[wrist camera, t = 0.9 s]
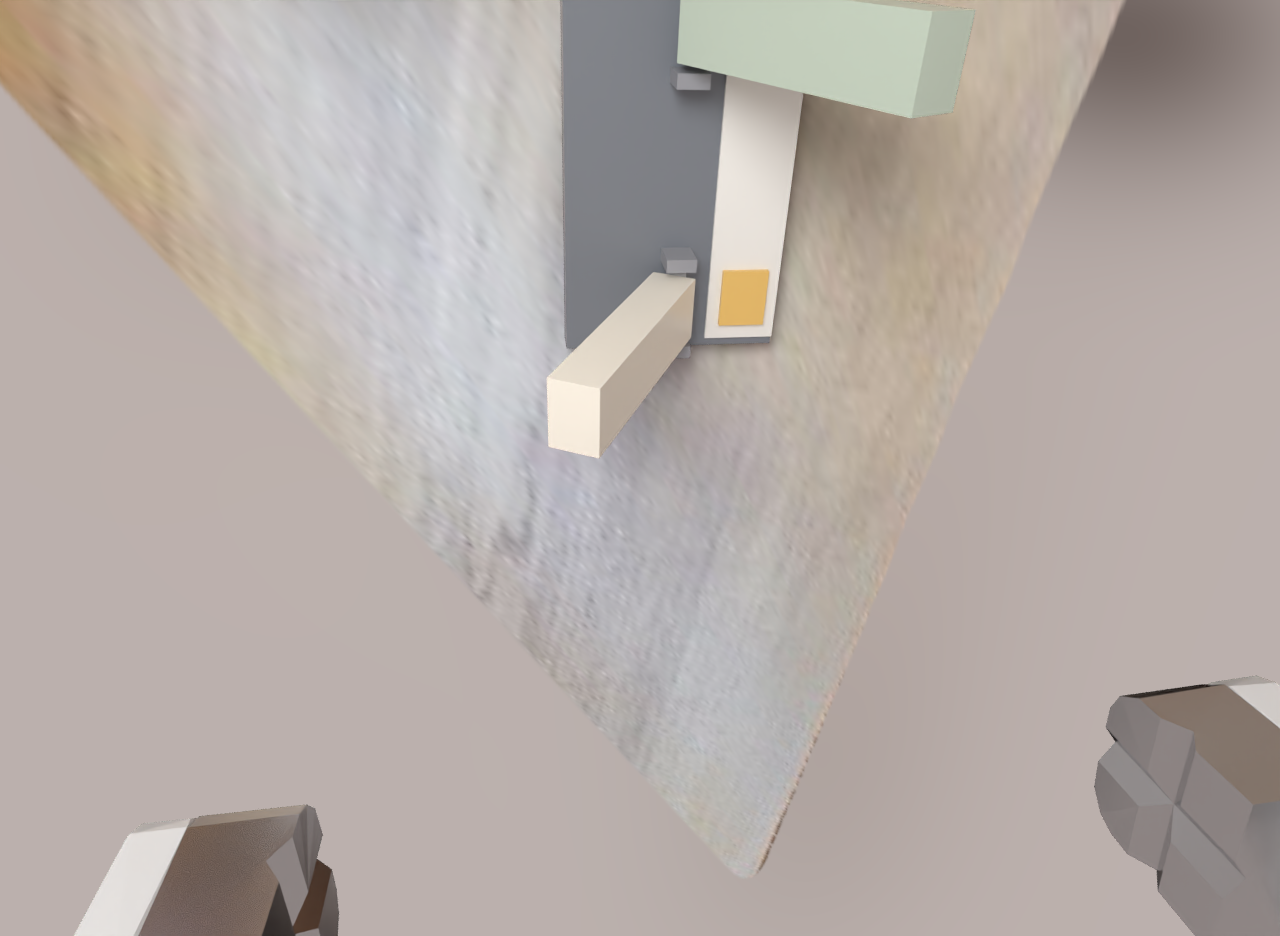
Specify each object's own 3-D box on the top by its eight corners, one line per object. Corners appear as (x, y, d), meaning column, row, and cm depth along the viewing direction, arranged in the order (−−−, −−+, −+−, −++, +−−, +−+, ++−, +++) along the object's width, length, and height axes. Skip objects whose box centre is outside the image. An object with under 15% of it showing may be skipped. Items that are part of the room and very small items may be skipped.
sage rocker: (663, 63, 40) (910, 122, 31) (667, -27, 38) (933, 6, 29) (702, 60, 41) (951, 117, 32) (708, -27, 39) (976, 4, 30)
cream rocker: (656, 325, 49) (548, 449, 37) (659, 263, 47) (546, 374, 35) (696, 332, 48) (599, 461, 37) (701, 270, 46) (600, 385, 35)
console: (564, 337, 50) (569, 364, 47) (559, -64, 39) (564, -61, 36) (762, 332, 52) (778, 357, 49) (811, -54, 41) (835, -51, 38)
